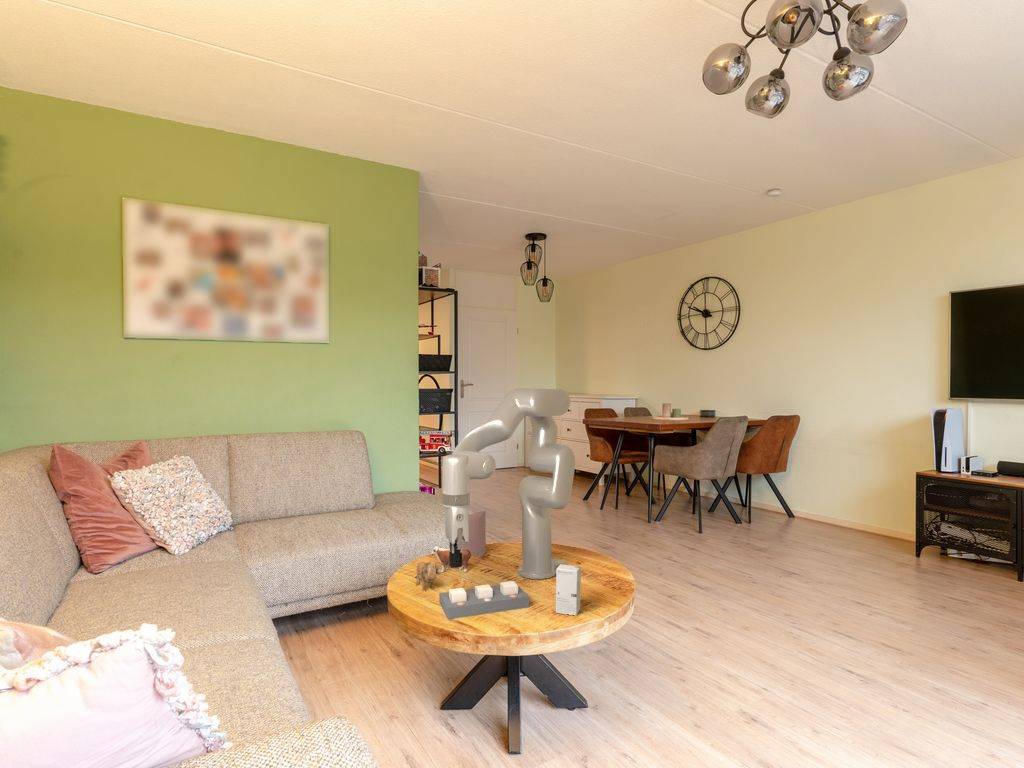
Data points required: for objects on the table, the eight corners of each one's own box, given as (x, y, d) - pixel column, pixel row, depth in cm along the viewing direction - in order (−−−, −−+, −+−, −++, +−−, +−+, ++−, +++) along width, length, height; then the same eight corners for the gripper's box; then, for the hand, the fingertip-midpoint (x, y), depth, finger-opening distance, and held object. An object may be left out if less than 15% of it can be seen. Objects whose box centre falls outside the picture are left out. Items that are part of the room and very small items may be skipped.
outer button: (463, 600, 158) (462, 587, 158) (466, 605, 154) (466, 592, 154) (449, 602, 157) (448, 589, 157) (452, 607, 153) (452, 594, 153)
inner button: (513, 593, 163) (513, 580, 163) (518, 598, 159) (518, 585, 159) (500, 594, 162) (500, 582, 162) (504, 600, 158) (504, 587, 158)
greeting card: (484, 550, 208) (483, 510, 208) (498, 555, 203) (497, 513, 202) (460, 558, 200) (460, 515, 199) (474, 562, 194) (474, 519, 194)
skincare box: (555, 613, 152) (554, 568, 152) (559, 607, 156) (559, 563, 156) (577, 616, 150) (576, 571, 150) (581, 610, 154) (581, 566, 154)
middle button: (488, 596, 160) (488, 584, 160) (492, 601, 157) (492, 589, 157) (475, 598, 159) (474, 586, 159) (478, 603, 155) (478, 591, 155)
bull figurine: (432, 568, 189) (432, 544, 189) (471, 569, 188) (471, 544, 188) (429, 572, 185) (428, 548, 185) (469, 573, 184) (469, 548, 184)
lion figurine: (443, 592, 168) (443, 562, 168) (427, 596, 165) (427, 565, 165) (422, 577, 180) (422, 549, 180) (406, 581, 178) (406, 552, 177)
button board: (516, 592, 167) (515, 582, 167) (529, 607, 156) (529, 595, 156) (439, 603, 159) (439, 592, 159) (447, 619, 149) (447, 607, 149)
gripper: (476, 504, 149) (475, 573, 149) (462, 494, 163) (462, 557, 163) (448, 506, 147) (448, 576, 147) (437, 495, 161) (436, 560, 161)
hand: (455, 566), depth 155 cm, fingers closed
